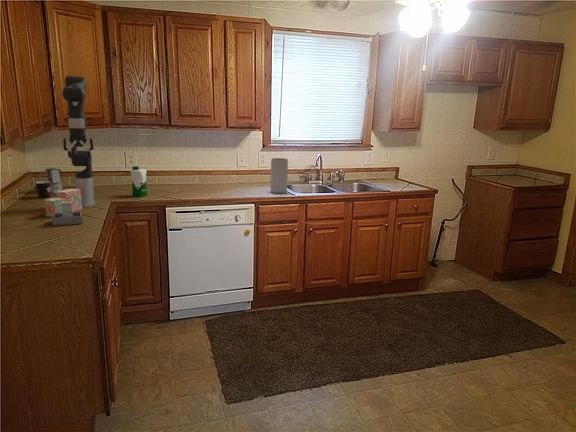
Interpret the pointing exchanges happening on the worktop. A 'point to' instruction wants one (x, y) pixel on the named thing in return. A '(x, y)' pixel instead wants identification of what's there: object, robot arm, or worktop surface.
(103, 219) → the worktop surface
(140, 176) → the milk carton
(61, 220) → the bin
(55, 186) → the coffee box
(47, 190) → the coffee mug
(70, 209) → the sage block
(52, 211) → the stack of blocks
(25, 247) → the worktop surface
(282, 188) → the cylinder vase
